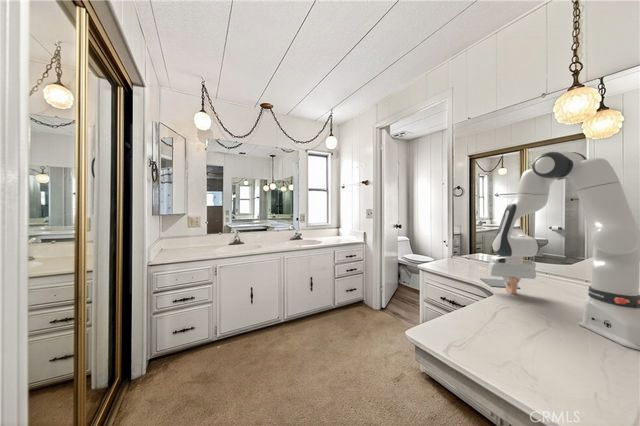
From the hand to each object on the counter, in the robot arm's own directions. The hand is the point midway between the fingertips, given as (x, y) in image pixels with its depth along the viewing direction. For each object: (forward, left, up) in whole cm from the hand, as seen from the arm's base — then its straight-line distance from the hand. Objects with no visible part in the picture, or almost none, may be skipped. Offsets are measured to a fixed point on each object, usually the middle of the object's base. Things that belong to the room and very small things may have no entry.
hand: (511, 285), depth 124 cm
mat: (+14, -1, -3) cm, 14 cm away
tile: (0, 0, -3) cm, 3 cm away
